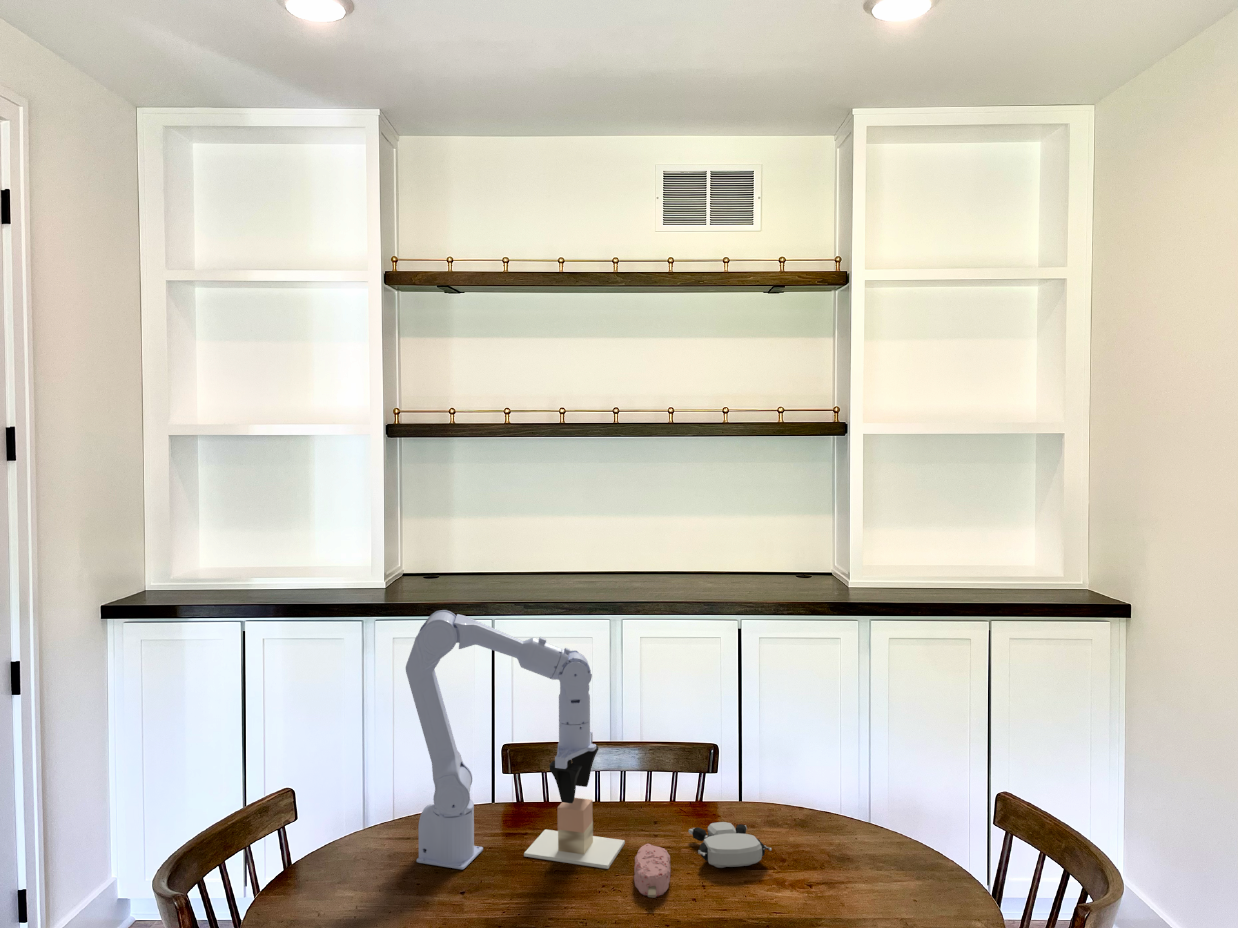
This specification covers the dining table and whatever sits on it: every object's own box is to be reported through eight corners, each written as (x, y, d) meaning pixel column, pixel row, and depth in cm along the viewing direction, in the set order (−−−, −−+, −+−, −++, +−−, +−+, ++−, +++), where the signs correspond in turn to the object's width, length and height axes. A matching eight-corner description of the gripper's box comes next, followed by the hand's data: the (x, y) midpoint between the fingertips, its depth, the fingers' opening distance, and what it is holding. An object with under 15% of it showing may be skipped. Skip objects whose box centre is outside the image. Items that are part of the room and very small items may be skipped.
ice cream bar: (631, 883, 137) (634, 839, 152) (632, 909, 137) (635, 863, 152) (670, 883, 137) (670, 839, 151) (671, 909, 137) (671, 862, 152)
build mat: (524, 856, 154) (524, 852, 154) (545, 832, 164) (545, 829, 164) (608, 868, 150) (608, 865, 150) (624, 843, 159) (624, 840, 159)
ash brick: (558, 850, 155) (558, 828, 155) (567, 838, 160) (567, 817, 160) (584, 854, 154) (584, 832, 154) (593, 841, 158) (592, 820, 158)
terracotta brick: (557, 829, 155) (557, 807, 155) (567, 817, 160) (567, 796, 160) (583, 832, 153) (583, 810, 153) (592, 820, 158) (592, 799, 158)
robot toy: (685, 844, 161) (704, 878, 146) (684, 820, 161) (704, 851, 146) (747, 839, 163) (773, 872, 148) (747, 815, 163) (772, 845, 148)
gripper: (581, 734, 148) (582, 812, 148) (607, 710, 162) (607, 781, 162) (543, 731, 150) (544, 807, 150) (572, 706, 164) (573, 776, 164)
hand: (574, 793), depth 156 cm, fingers open, 7 cm apart
